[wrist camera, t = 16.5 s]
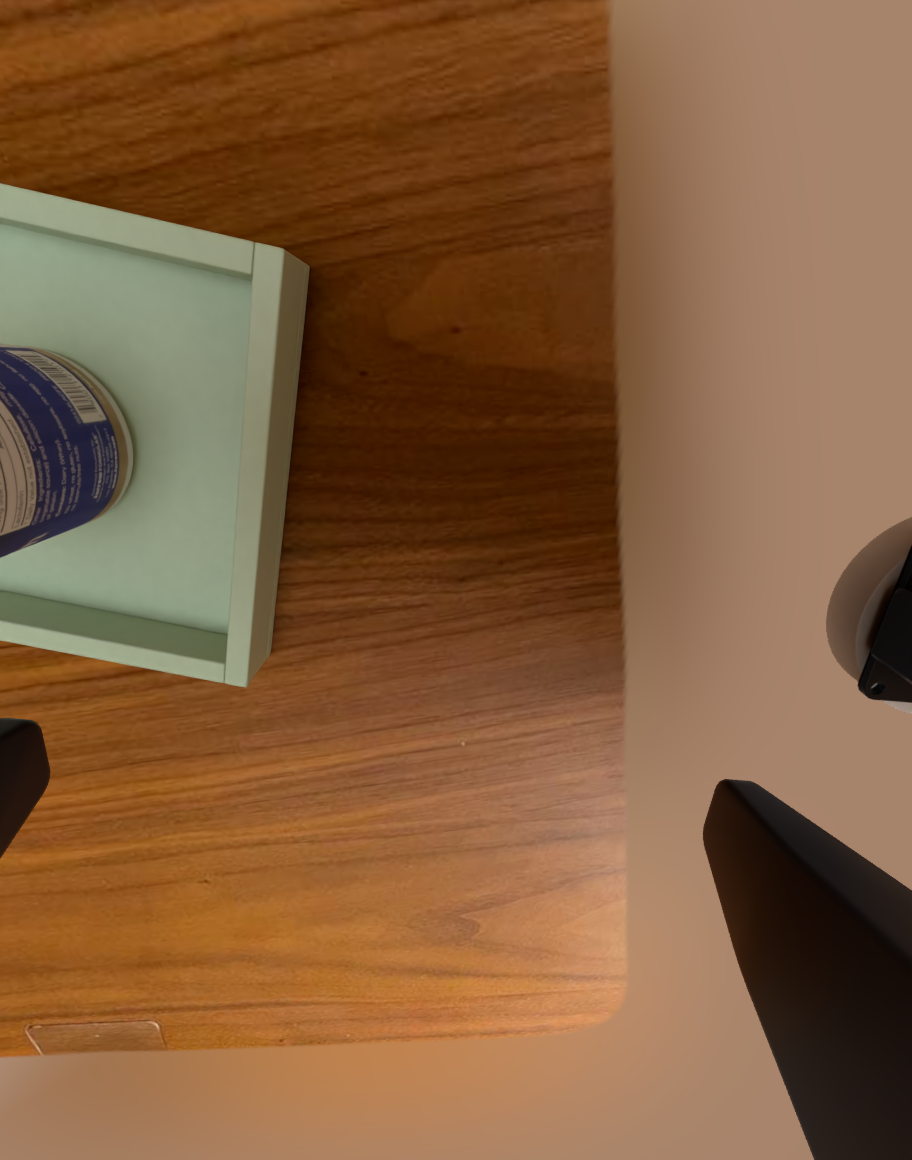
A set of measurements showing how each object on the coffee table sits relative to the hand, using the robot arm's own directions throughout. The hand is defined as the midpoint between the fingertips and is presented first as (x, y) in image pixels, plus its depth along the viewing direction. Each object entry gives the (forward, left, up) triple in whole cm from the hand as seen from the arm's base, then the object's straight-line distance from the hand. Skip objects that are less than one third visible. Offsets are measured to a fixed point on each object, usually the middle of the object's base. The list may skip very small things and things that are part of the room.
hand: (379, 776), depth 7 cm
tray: (+13, -2, -13) cm, 18 cm away
